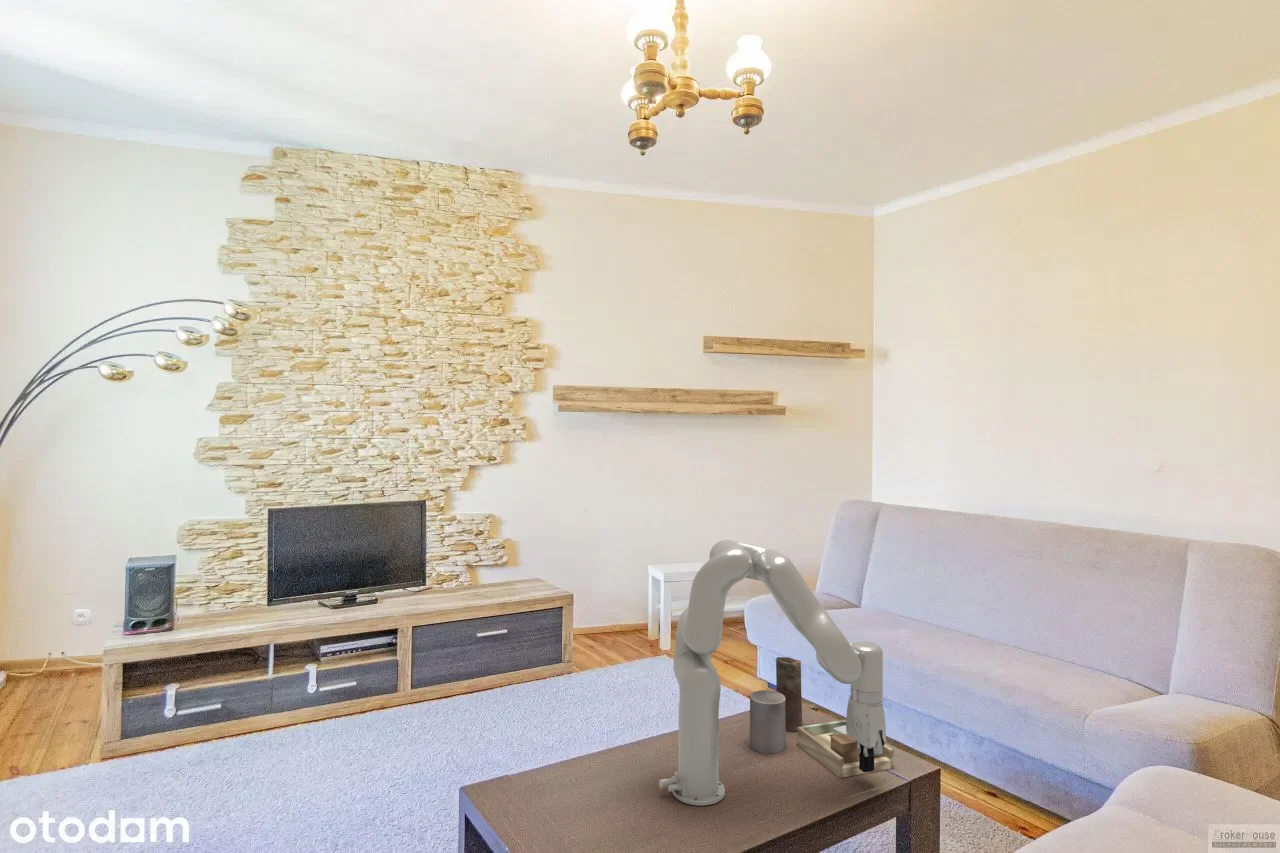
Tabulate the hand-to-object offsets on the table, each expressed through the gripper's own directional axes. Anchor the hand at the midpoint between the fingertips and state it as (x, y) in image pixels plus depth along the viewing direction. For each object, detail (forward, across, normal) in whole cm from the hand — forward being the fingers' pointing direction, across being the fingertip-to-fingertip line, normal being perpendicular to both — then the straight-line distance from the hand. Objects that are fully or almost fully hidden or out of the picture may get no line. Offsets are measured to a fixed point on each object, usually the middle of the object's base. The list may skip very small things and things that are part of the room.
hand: (866, 770), depth 173 cm
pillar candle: (+4, -26, -12) cm, 30 cm away
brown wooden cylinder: (+4, -36, 0) cm, 36 cm away
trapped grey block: (+3, -19, +7) cm, 21 cm away
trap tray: (+4, -14, +4) cm, 15 cm away
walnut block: (+1, -9, 0) cm, 9 cm away
